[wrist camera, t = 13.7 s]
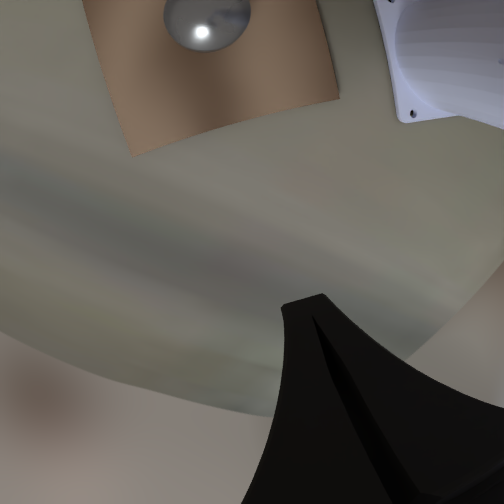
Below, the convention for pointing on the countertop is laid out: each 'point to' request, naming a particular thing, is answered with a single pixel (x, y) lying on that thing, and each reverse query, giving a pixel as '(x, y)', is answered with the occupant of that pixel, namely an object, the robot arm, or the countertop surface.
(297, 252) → the countertop surface
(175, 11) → the crank
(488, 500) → the robot arm
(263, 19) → the crank base
